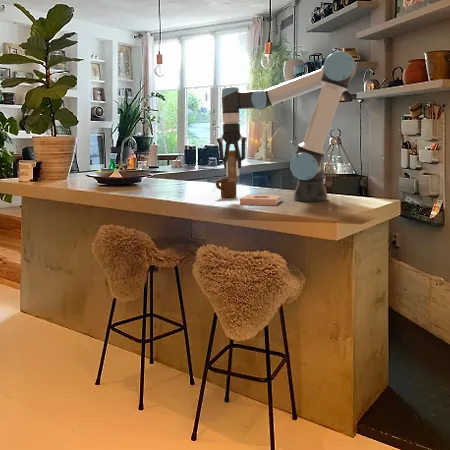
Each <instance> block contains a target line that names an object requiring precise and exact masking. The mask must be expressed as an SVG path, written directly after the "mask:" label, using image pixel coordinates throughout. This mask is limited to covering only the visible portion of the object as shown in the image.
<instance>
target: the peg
mask: <svg viewBox="0 0 450 450" xmlns="http://www.w3.org/2000/svg"><path fill="white" fill-rule="evenodd" d="M236 161H237V156H236V151H235V149H233V150H230V149H229V151H228V172H229V176H228V177H229V182H236V183H238V180H239V179H238V177H239V176H236Z"/></svg>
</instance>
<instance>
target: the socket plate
mask: <svg viewBox="0 0 450 450" xmlns="http://www.w3.org/2000/svg"><path fill="white" fill-rule="evenodd" d="M281 202H283V196H282V195H277V194H275V195H274V194H273V195H271V194H269V195H268V194H246V195H245V196H242V197H240V198H239V205H252V206H253V205H254V206H255V205H257V206H277V205H278V204H280V203H281Z"/></svg>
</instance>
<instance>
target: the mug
mask: <svg viewBox="0 0 450 450" xmlns="http://www.w3.org/2000/svg"><path fill="white" fill-rule="evenodd" d="M215 187H216V189H218V190H220V197H221V198H223V199H224V198H225V199H232V198H236V197H237V182H229V176H223V177H220V178H219V179H217V180H216V182H215Z"/></svg>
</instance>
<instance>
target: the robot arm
mask: <svg viewBox="0 0 450 450" xmlns="http://www.w3.org/2000/svg"><path fill="white" fill-rule="evenodd" d="M357 69H358V68H357V63H356V61H355V59H354V56H352V55H351V54H350V53H349V52H346V51H343V50H342V51H341V50H337V51H334V52H332V53H330V54H328V56H327V57H326V58H325V61H324V62H323V65H322V66H321V68H320V69H318V70H315V71H312V72H310V73H307V74H304V75H302V76H298V77H296V78H294V79H291V80H288V81H286V82H283V83H280V84H278V85H274V86H272V87H269V88H267V89H264V90H263V89H261V90H260V89H255V90H245V91H240V90H239V87H238V86H237V87H236V86H228V87H227V86H226V87H223V88H222V90H221V108H222V109H221V110H222V113H221V114H222V123H223V124H222V136H221V137H219V138H217V139H216V141H217V144H218V152H219V153H218V155H219V160H220V161H223V168H224V170H225V171H226V172H225V173H226V177H229V172H228V151H229V150H230V147H231V145H233V147H234V150H235V151H236V156H237V161H236V176H238V177H239V176H241V175H240V169H242V162H243V160H245V159H246V142H247V139H248V138H247V137H244V136H242V134H241V124H240V123H239V122H240V121H241V120H240V110H246V109H249V110H250V109H255V110H259V111H262V110H266V109H267V108H270V107H271V106H274V105H276V104H279V103H282V102H285V101H288V100H291V99H294V98H295V97H296V98H297V97H299V96H302V95H305V94H307V93H310V92H313V91H316V90H319V89H320V93H319V95H318V96H317V97H318V98H317V101H316V103H315V106H314V109H313V112H312V115H311V118H310V121H309V124H308V127H307V130H306V133H305V136H304V139H303V141H302V142H300V143H299V144H298V145H297V148H296V152H295V154H294V156H293V157H292V158H291V160H290V164H289V169H290V172H291V173H292V175H293V176H294V177H295V178H296V179H297V184H296V187H295V191H294V194H293V200H294V201H300V202H325V201H327V200H328V193H327V189H326V186H325V183H324V181H325V180H324V179H325V158H326V157H325V151H324V145H325V142H326V139H327V137H328V133H329V131H330V128H331V126H332V122H333V120H334V117H335V114H336V111H337V108H338V105H339V102H340V99H341V97H342V94H343V93H344V92H346V91H348V88H349V85H350V84H351V80H353V79H354V77H355V76H356V74H357ZM239 141H241V148H240V147H239ZM223 142H225V149H224V145H223ZM240 150H241V151H240Z"/></svg>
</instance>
